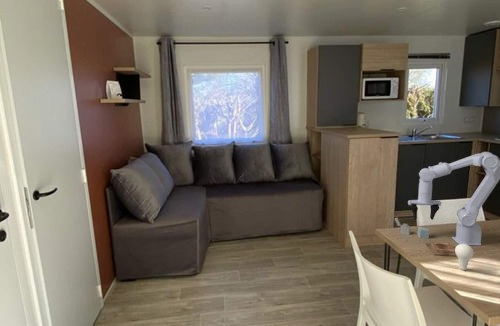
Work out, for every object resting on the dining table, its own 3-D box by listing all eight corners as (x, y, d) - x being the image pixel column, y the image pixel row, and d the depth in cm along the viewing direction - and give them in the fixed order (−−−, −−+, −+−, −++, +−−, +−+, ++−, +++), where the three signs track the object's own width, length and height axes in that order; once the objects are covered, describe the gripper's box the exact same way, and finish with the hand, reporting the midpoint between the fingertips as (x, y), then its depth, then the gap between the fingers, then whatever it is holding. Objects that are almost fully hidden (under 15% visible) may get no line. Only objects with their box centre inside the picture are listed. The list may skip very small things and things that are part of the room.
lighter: (409, 233, 159) (410, 219, 158) (409, 234, 158) (409, 220, 157) (394, 231, 164) (395, 217, 162) (394, 232, 162) (394, 218, 161)
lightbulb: (466, 275, 119) (468, 249, 117) (450, 268, 124) (452, 243, 123) (475, 271, 122) (477, 245, 120) (459, 264, 127) (460, 239, 125)
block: (426, 235, 156) (426, 227, 156) (428, 238, 153) (429, 230, 152) (417, 235, 157) (417, 226, 157) (420, 238, 154) (420, 230, 153)
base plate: (451, 245, 144) (452, 241, 143) (462, 257, 133) (462, 252, 133) (426, 244, 146) (426, 240, 146) (434, 255, 136) (434, 251, 135)
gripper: (438, 190, 153) (436, 216, 156) (406, 190, 156) (405, 215, 159) (443, 194, 147) (441, 221, 149) (411, 194, 149) (409, 220, 152)
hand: (423, 218), depth 153 cm, fingers open, 7 cm apart
